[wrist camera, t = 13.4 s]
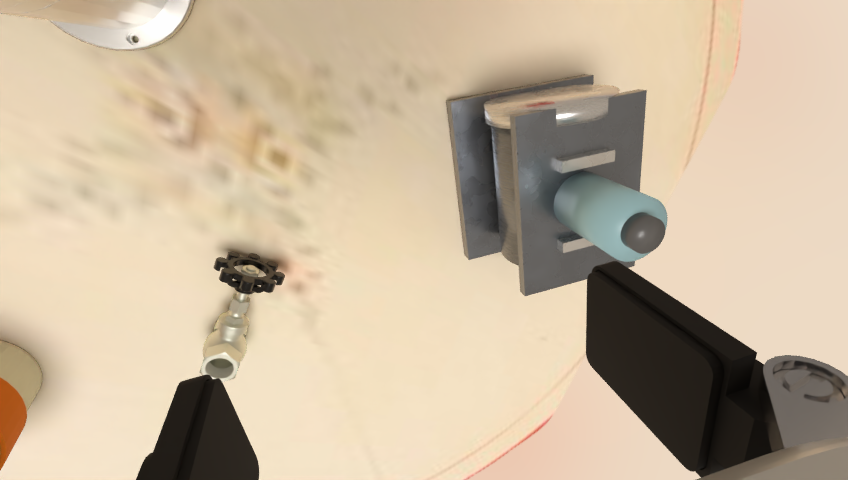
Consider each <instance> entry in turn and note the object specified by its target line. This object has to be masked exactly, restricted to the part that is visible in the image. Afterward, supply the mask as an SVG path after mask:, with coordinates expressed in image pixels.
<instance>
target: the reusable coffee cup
mask: <svg viewBox="0 0 848 480" xmlns="http://www.w3.org/2000/svg"><path fill="white" fill-rule="evenodd" d="M41 383H42V372H41V369H40V366H39V365H38V363H37V362H36V360H35V359H34V358H33V357H32V356H31V355H30V354H29V353H27V352H26V351H24V350H23V349H21V348H20V347H18V346H15V345H13V344H11V343H8V342H5V341H2V340H0V470H1V468H2V467H3V465H4V463H5V461H6V459H7V458H8V456H9V454H10V452H11V450H12V448H13V446H14V445H15V443H16V441H17V439H18V437H19V435H20V434H21V432H22V430H23V428H24V426H25V423H26V419H27V410H28V409H29V407H30V405H31V403H32V401H33V400H34V398H35V396H36V394H37V392H38V391H39V389H40V387H41Z"/></svg>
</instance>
